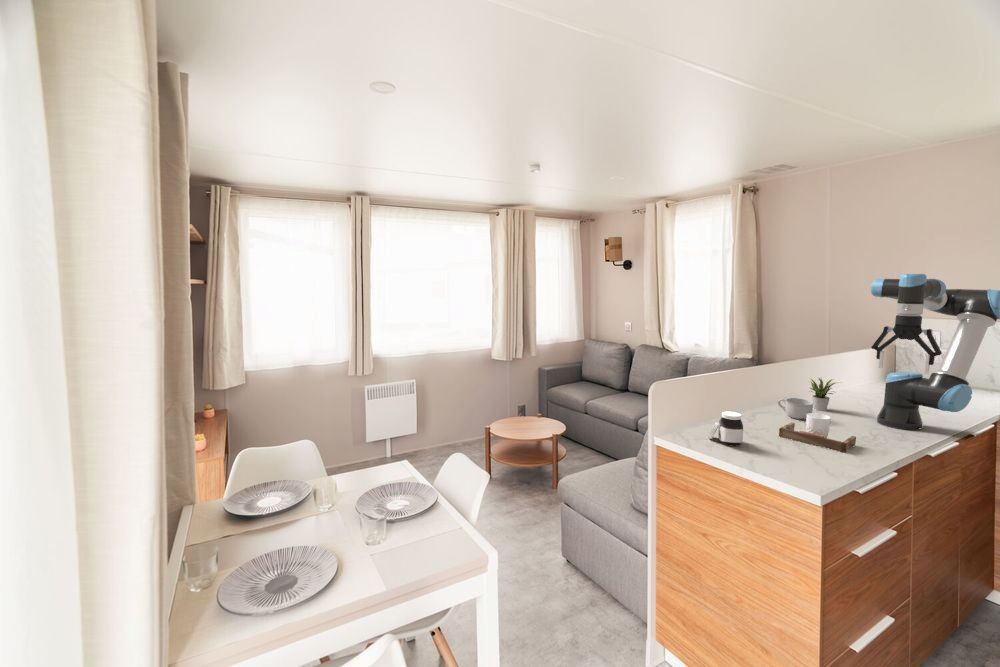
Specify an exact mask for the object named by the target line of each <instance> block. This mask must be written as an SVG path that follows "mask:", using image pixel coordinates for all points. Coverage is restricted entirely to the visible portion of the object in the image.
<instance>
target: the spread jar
mask: <svg viewBox="0 0 1000 667" xmlns="http://www.w3.org/2000/svg"><path fill="white" fill-rule="evenodd" d="M718 420H719V422H714V424H713V425H712V428H711V430H710V432H709V434H708V437H707V438H709V439H710V440H712V439H713V438H714V436H715V434H716V432H717V429H718V440H719V442H720V444H722V443H723V444H722V445H725V444H726V445H725V446H729V445H732V446H731V447H737V446H736V445H738V446H740V445H742V444H743V440H744V424H743V422H742V414H741V413H739V412H736V411H730V410H729V411H722V412H721V417H720V418H719V419H718Z"/></svg>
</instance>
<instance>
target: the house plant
mask: <svg viewBox="0 0 1000 667" xmlns="http://www.w3.org/2000/svg"><path fill="white" fill-rule="evenodd" d="M810 380H811V381H809V382H810V383H811V384H810V385H811V387H809V389H810V390H809V392H812V393H813V394H814V395H812V397H811V398H812V402H813V408H814V409H813V410H815V409H816V411H819V410H823V411H822V412H825V411H824V410H826V411H827V409H828V406H829V402H830V397H829V396H827V395H834V394H837V393H836V391H834V390H832V386H834V385H835V384H838V383H841V384H842V382H841V381H840V382H837V381H836V382H833V381H834V380H835V378H831V379H829V380H828V381H827V382H825V383H826V384H825V386H824V380H823V379H822V377H818V381H819V384H817V382H816V381H815V380H813V379H812V378H810ZM830 390H832V391H830Z"/></svg>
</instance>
